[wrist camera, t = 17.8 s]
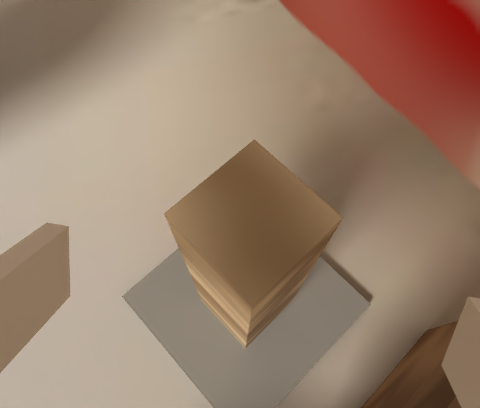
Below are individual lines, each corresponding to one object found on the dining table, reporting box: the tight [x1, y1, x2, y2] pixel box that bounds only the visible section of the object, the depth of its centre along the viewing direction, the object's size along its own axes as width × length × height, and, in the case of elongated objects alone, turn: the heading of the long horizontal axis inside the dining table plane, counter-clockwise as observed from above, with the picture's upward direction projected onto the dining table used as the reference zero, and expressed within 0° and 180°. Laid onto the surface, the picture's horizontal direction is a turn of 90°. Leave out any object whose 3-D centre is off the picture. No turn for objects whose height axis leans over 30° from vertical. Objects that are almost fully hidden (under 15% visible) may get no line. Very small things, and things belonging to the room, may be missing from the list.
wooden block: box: [164, 140, 343, 349], centre depth 19 cm, size 4×4×14 cm
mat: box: [122, 249, 370, 408], centre depth 26 cm, size 11×11×1 cm
